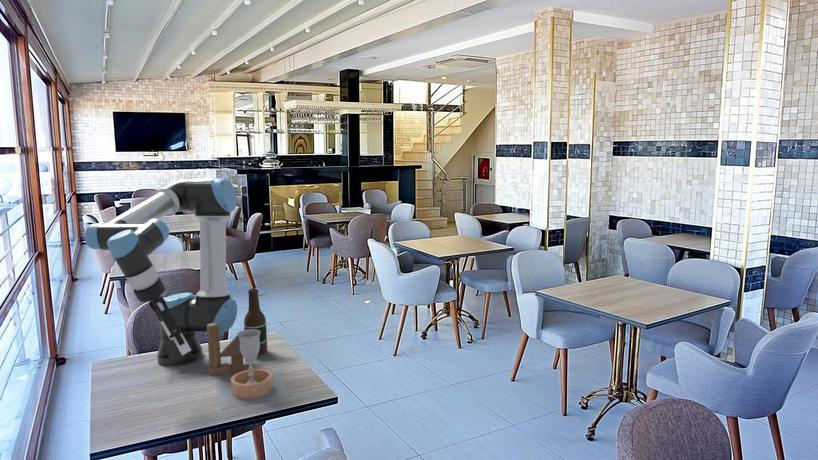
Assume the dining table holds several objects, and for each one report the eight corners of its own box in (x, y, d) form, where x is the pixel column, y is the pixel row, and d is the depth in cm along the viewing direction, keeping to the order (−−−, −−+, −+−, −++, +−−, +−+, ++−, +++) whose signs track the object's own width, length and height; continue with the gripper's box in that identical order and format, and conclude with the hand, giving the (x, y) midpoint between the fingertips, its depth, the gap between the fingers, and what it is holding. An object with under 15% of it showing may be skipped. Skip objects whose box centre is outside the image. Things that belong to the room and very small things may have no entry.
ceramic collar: (230, 385, 175) (229, 372, 174) (269, 378, 179) (268, 366, 179) (234, 401, 164) (233, 388, 163) (275, 393, 168) (274, 381, 168)
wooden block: (243, 375, 186) (240, 323, 183) (209, 379, 183) (205, 326, 180) (243, 371, 189) (240, 320, 186) (210, 375, 186) (206, 323, 184)
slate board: (216, 386, 177) (215, 382, 177) (279, 376, 185) (279, 371, 185) (221, 414, 159) (220, 409, 159) (291, 401, 167) (291, 396, 166)
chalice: (240, 386, 174) (236, 330, 171) (262, 382, 176) (259, 328, 173) (241, 395, 167) (238, 338, 164) (264, 392, 169) (261, 335, 167)
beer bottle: (245, 357, 201) (241, 292, 198) (246, 349, 209) (242, 287, 205) (267, 355, 203) (264, 291, 200) (267, 347, 211) (264, 285, 207)
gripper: (124, 280, 163) (158, 338, 171) (141, 302, 143) (178, 367, 151) (149, 267, 166) (181, 325, 174) (169, 287, 146) (204, 351, 155)
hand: (180, 344), depth 163 cm, fingers open, 13 cm apart
